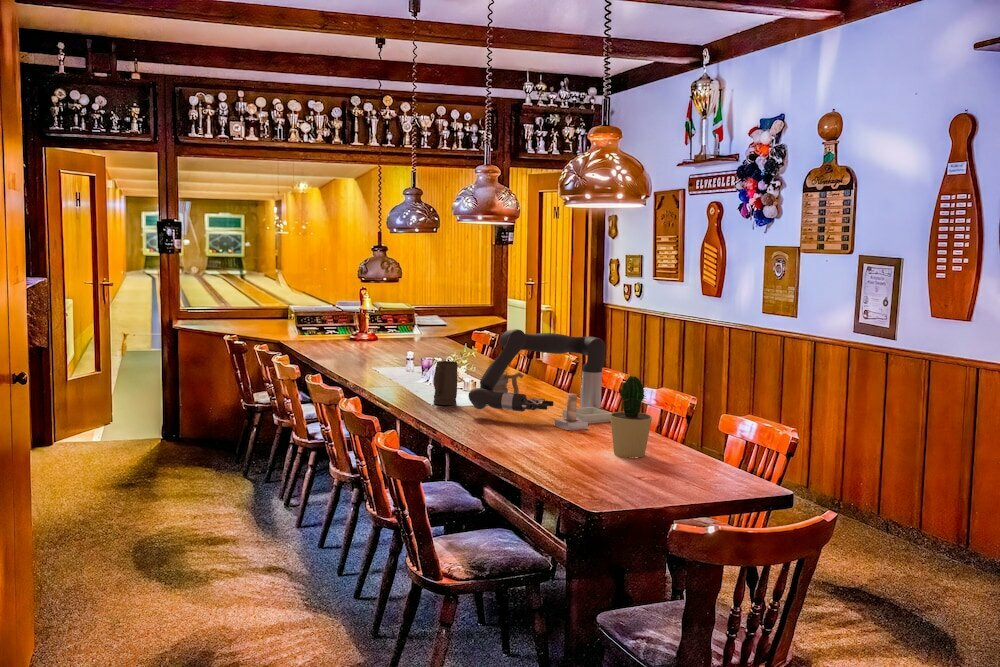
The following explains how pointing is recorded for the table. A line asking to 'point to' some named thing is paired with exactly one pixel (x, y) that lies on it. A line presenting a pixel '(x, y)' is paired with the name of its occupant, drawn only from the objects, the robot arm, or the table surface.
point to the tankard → (503, 381)
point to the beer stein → (445, 383)
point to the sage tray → (591, 414)
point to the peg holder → (571, 424)
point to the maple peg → (571, 407)
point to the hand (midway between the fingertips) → (550, 405)
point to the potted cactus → (631, 421)
